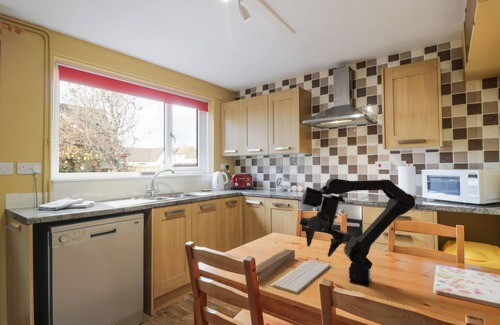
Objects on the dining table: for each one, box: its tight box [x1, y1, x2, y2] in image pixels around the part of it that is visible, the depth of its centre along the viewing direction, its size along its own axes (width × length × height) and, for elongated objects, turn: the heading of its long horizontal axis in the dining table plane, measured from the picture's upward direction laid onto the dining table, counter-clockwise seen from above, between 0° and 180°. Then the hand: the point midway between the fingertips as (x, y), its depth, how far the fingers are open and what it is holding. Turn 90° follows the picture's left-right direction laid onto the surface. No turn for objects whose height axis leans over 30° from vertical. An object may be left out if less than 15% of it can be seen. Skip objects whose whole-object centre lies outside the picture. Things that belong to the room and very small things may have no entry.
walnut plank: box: [255, 248, 296, 284], centre depth 110 cm, size 5×32×4 cm, turn 146°
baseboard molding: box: [270, 257, 331, 295], centre depth 102 cm, size 31×3×12 cm
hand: (318, 251), depth 97 cm, fingers open, 9 cm apart
